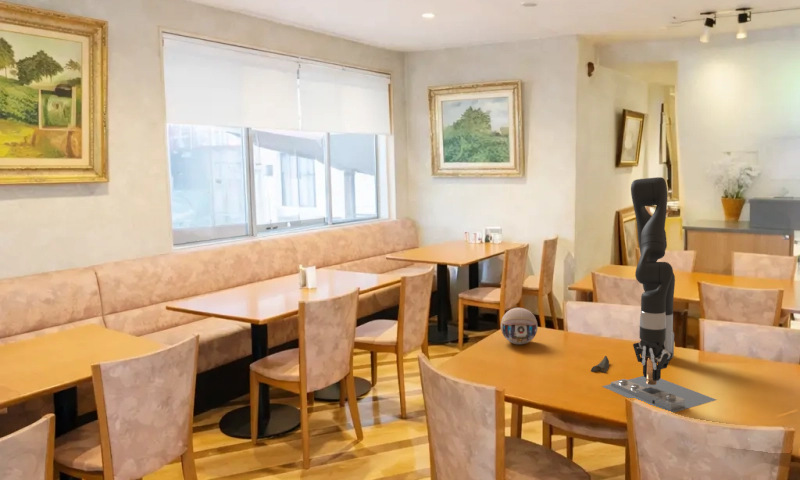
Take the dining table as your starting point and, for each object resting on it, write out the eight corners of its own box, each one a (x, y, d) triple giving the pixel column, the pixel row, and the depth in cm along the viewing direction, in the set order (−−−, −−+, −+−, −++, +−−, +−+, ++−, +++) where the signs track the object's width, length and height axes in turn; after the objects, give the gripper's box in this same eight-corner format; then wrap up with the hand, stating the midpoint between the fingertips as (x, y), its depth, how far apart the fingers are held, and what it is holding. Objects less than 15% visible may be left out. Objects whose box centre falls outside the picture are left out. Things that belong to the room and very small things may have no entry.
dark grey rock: (604, 375, 215) (604, 365, 215) (590, 373, 218) (590, 363, 218) (617, 365, 225) (617, 356, 225) (603, 363, 228) (603, 354, 228)
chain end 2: (649, 392, 197) (650, 382, 197) (684, 407, 185) (685, 396, 185) (636, 396, 195) (636, 386, 194) (670, 411, 183) (671, 400, 182)
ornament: (493, 344, 254) (492, 308, 252) (515, 336, 264) (515, 302, 262) (523, 351, 243) (523, 314, 241) (544, 343, 253) (544, 307, 251)
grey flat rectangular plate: (649, 375, 213) (649, 374, 213) (716, 400, 190) (716, 399, 190) (601, 387, 204) (601, 386, 204) (666, 415, 181) (666, 414, 181)
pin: (650, 380, 194) (651, 356, 193) (658, 383, 192) (659, 359, 191) (644, 382, 193) (644, 358, 192) (651, 385, 190) (652, 360, 189)
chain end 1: (624, 382, 207) (624, 377, 207) (666, 399, 192) (666, 394, 191) (610, 385, 204) (610, 380, 204) (652, 403, 189) (652, 397, 189)
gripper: (680, 328, 185) (678, 383, 188) (643, 318, 198) (642, 369, 200) (662, 332, 182) (661, 388, 184) (626, 321, 195) (625, 374, 197)
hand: (651, 378), depth 192 cm, fingers closed on pin, 3 cm apart
